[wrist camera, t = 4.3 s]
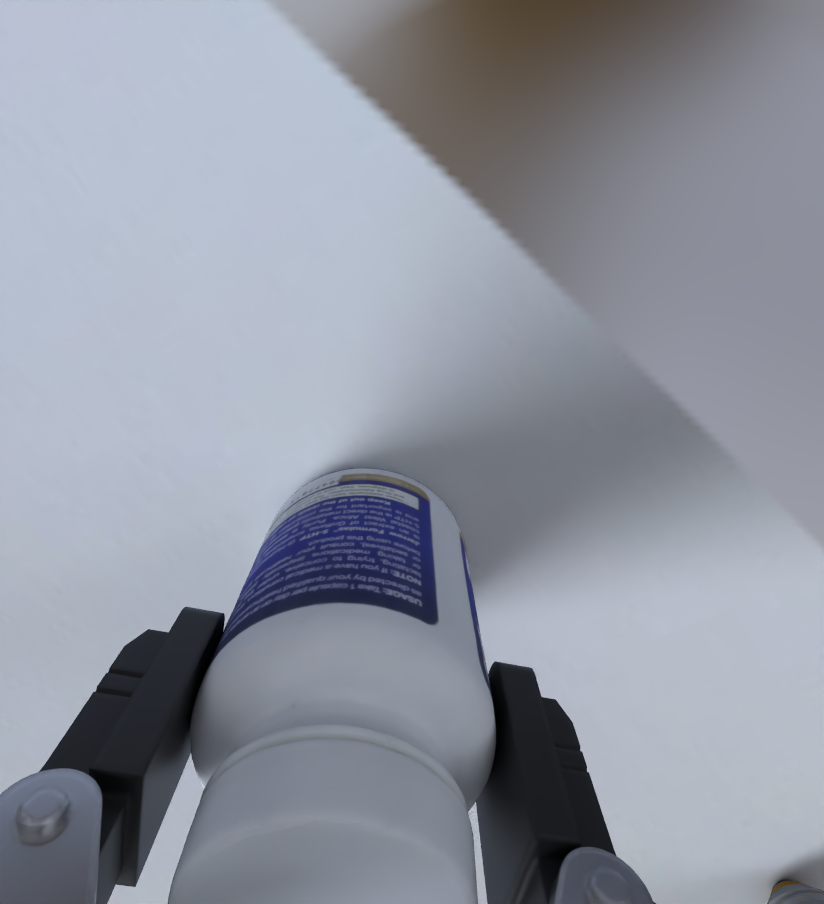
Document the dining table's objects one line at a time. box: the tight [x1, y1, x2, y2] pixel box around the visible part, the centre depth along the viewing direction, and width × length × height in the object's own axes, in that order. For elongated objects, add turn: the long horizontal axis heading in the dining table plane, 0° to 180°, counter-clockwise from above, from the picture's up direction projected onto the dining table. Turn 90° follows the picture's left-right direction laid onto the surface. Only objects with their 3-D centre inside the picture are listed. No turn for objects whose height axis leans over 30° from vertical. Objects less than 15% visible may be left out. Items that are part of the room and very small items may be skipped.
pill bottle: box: [168, 468, 496, 904], centre depth 11 cm, size 5×5×9 cm
